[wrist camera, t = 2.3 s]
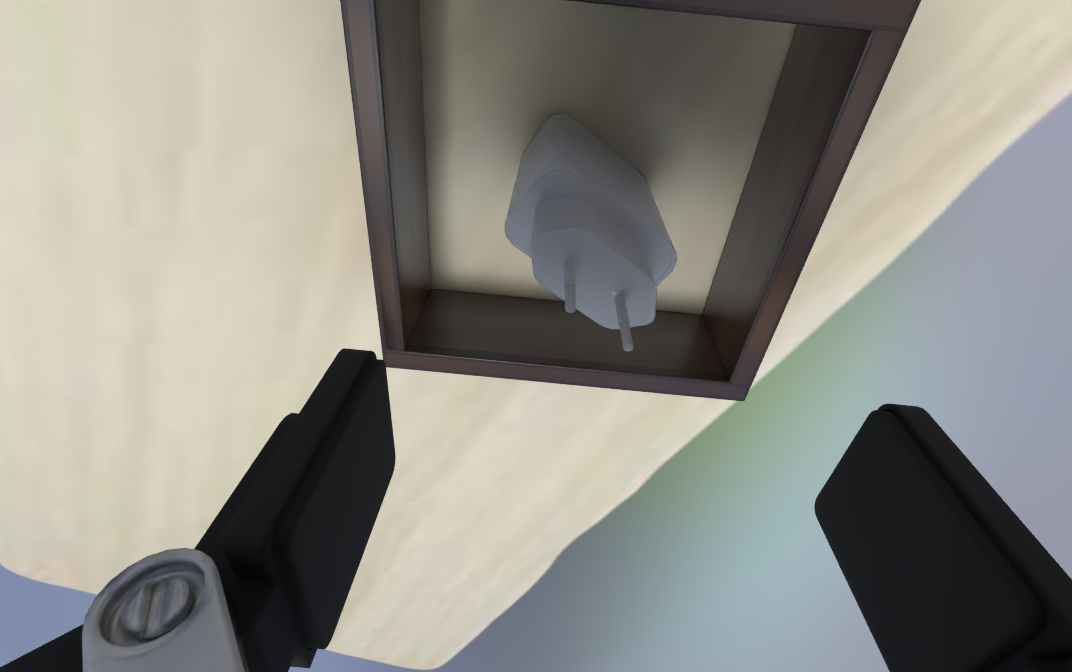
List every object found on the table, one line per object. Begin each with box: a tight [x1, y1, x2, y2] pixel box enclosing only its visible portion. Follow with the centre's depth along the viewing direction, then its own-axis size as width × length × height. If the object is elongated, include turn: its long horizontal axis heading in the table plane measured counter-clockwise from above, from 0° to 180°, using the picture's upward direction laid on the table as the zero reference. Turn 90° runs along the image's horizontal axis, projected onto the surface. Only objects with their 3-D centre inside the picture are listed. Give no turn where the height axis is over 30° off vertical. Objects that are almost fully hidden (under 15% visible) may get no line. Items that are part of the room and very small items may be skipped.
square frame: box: [340, 0, 921, 401], centre depth 20 cm, size 15×16×6 cm
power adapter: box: [505, 113, 677, 352], centre depth 17 cm, size 3×5×12 cm, turn 54°
